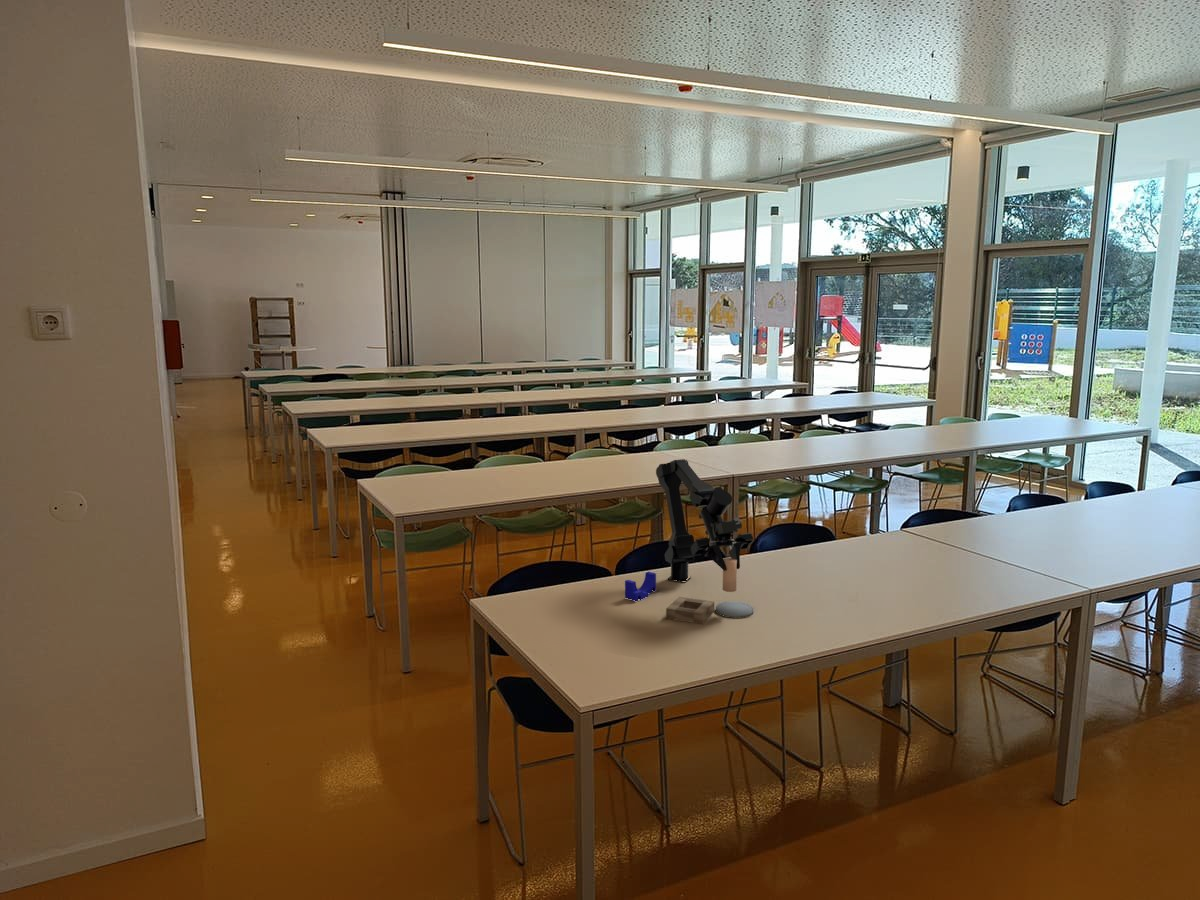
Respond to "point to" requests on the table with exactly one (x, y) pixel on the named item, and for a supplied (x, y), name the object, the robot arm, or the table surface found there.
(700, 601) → the pocket block
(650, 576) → the cable clip
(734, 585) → the post
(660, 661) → the table surface
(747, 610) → the slate mat
